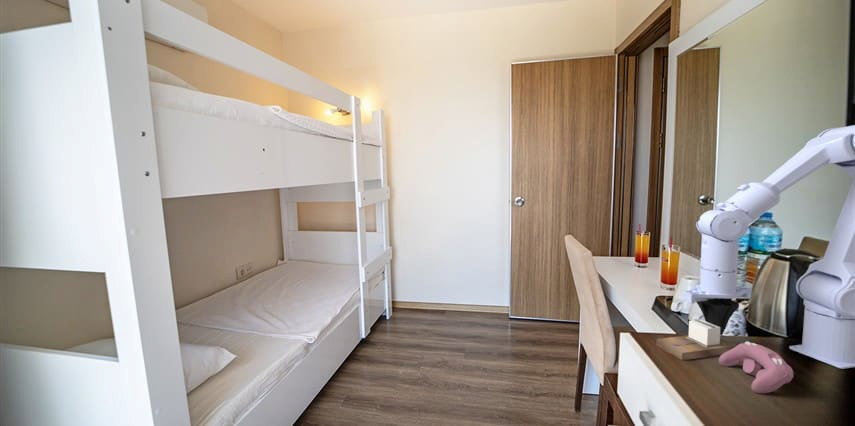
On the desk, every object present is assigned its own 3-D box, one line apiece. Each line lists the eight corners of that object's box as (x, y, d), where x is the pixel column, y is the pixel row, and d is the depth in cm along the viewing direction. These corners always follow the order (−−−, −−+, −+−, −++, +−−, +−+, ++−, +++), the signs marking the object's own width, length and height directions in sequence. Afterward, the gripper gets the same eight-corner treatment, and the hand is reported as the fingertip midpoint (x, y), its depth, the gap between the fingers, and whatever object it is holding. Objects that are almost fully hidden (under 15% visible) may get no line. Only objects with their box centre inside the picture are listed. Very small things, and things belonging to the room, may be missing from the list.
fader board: (708, 339, 74) (708, 332, 74) (737, 352, 68) (738, 345, 68) (656, 345, 72) (656, 338, 72) (682, 360, 66) (682, 352, 66)
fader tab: (700, 335, 72) (701, 318, 72) (719, 344, 68) (720, 326, 68) (688, 336, 72) (689, 319, 72) (707, 345, 68) (707, 327, 68)
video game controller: (781, 406, 55) (807, 370, 53) (752, 391, 55) (777, 356, 54) (738, 372, 64) (759, 341, 63) (713, 360, 65) (734, 329, 64)
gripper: (727, 262, 75) (724, 322, 76) (670, 266, 72) (668, 328, 73) (764, 270, 68) (760, 336, 69) (702, 275, 65) (699, 343, 66)
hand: (715, 333), depth 71 cm, fingers closed
